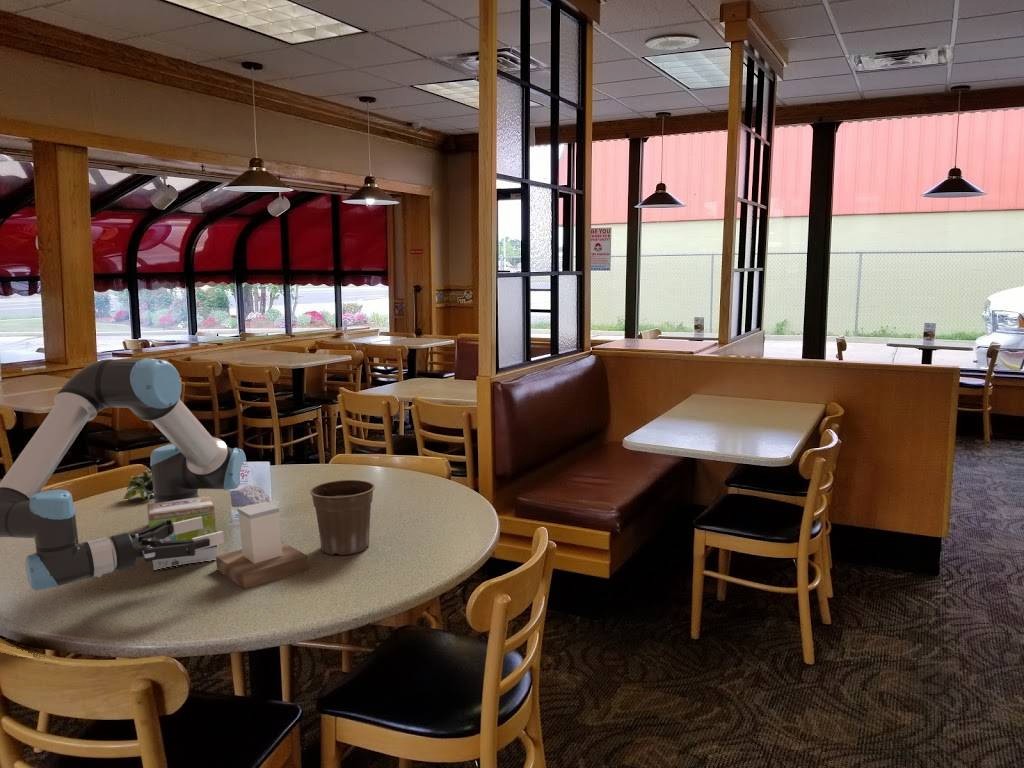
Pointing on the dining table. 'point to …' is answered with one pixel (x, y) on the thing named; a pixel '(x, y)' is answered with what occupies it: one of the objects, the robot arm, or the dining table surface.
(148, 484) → the green leafy plant
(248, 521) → the white lidded box
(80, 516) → the dining table surface
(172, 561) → the tea box
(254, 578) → the block
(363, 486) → the plant pot
